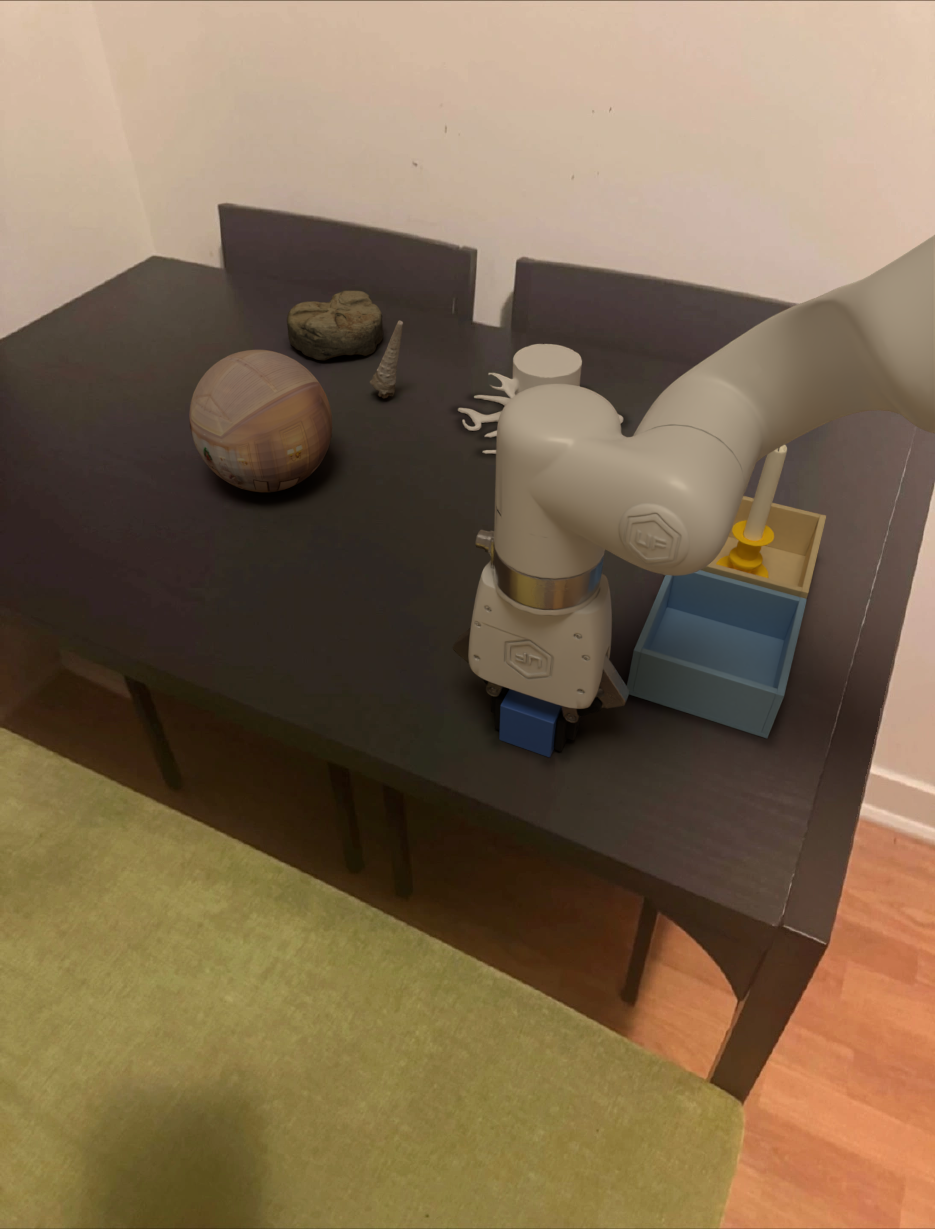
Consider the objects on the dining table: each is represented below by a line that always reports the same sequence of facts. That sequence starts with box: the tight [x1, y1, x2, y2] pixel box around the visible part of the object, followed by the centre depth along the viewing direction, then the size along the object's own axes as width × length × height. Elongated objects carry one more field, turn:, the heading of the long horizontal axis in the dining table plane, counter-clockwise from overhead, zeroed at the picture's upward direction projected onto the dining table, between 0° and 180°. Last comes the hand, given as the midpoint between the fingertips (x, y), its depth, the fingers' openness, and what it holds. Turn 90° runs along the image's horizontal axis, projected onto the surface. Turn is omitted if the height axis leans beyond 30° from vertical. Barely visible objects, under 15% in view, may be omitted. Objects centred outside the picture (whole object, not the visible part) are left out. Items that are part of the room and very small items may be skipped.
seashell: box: [369, 320, 404, 399], centre depth 106 cm, size 3×5×11 cm, turn 70°
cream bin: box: [701, 495, 827, 599], centre depth 83 cm, size 12×12×6 cm
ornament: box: [188, 349, 333, 493], centre depth 92 cm, size 15×15×15 cm
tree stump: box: [457, 343, 624, 455], centre depth 103 cm, size 20×19×8 cm
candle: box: [716, 444, 788, 578], centre depth 79 cm, size 5×5×16 cm
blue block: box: [498, 689, 562, 758], centre depth 70 cm, size 4×4×4 cm
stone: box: [286, 290, 384, 361], centre depth 119 cm, size 13×13×5 cm
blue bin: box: [626, 570, 808, 739], centre depth 75 cm, size 12×12×6 cm
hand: (534, 726), depth 71 cm, fingers closed on blue block, 4 cm apart
